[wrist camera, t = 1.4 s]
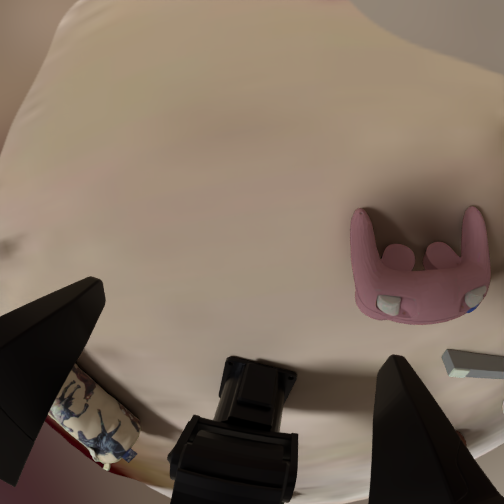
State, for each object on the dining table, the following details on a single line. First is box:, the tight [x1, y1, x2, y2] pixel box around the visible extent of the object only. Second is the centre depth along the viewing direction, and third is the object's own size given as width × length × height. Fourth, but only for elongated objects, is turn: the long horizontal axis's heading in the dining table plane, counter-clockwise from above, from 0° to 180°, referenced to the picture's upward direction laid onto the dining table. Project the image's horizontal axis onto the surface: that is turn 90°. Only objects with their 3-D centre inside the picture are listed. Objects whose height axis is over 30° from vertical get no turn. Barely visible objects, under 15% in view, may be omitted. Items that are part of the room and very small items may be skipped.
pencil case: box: [48, 364, 141, 471], centre depth 29 cm, size 22×8×10 cm, turn 38°
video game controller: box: [350, 206, 491, 325], centre depth 16 cm, size 10×5×7 cm, turn 98°
